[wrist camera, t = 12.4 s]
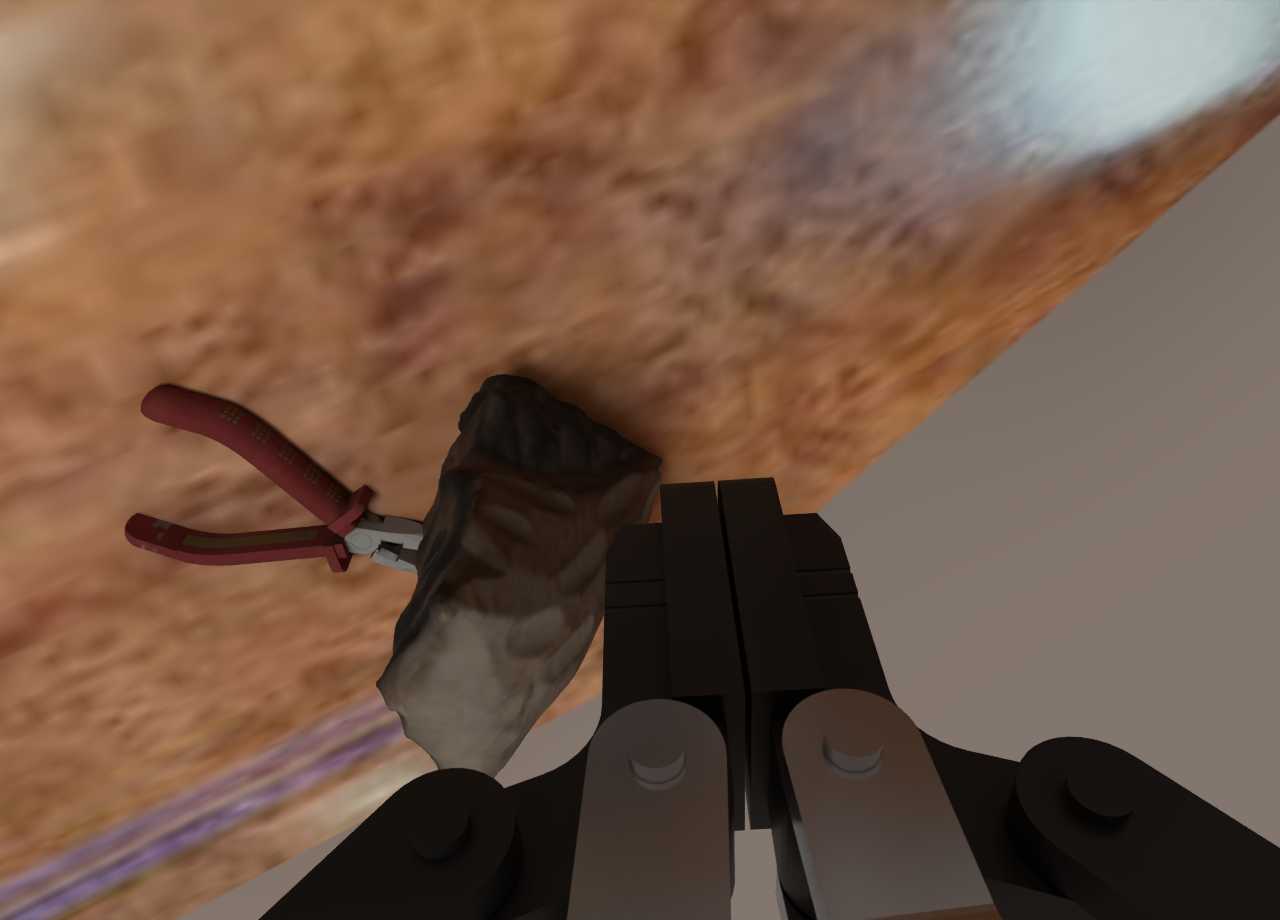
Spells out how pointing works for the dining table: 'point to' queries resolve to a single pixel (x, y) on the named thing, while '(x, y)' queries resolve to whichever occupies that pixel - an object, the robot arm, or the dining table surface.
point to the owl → (510, 571)
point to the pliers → (290, 472)
